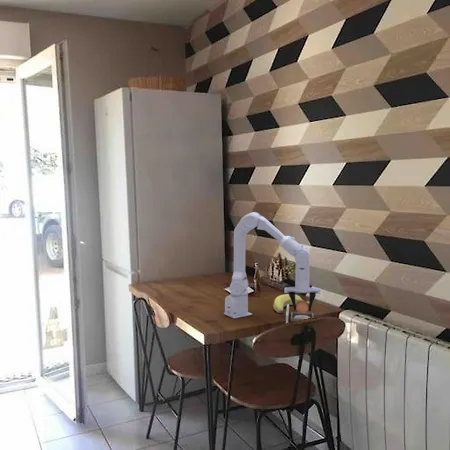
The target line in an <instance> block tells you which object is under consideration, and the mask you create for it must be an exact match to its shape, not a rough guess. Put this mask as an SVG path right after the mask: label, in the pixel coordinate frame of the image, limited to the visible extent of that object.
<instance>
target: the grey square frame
mask: <svg viewBox="0 0 450 450" xmlns="http://www.w3.org/2000/svg"><path fill="white" fill-rule="evenodd" d="M290 313H291V314H290V322H299V320H304V319H308V318H311V319H312V318H314V316H315V315H314V312H306V313H304V314H301V313H299V312H296V311H295V312H292V311H291V312H290ZM314 319H315V318H314Z"/></svg>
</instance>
